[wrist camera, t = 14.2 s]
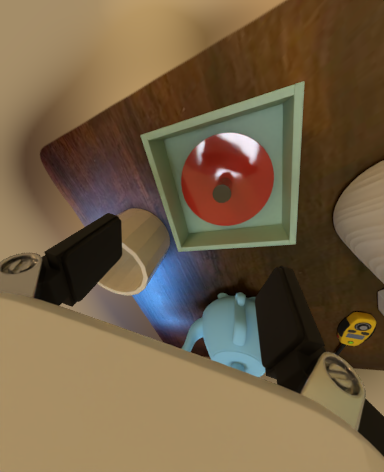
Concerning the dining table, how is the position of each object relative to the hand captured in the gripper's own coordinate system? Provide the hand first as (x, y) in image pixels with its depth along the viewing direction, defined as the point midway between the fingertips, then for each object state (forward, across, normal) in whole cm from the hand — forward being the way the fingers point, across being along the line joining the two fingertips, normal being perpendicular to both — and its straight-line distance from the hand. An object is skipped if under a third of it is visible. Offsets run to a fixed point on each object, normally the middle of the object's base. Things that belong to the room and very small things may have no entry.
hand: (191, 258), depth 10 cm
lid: (+19, -1, 0) cm, 19 cm away
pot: (+20, +12, +15) cm, 28 cm away
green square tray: (+20, -1, 0) cm, 20 cm away
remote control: (+20, -36, +24) cm, 47 cm away
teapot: (+20, -13, +28) cm, 36 cm away
